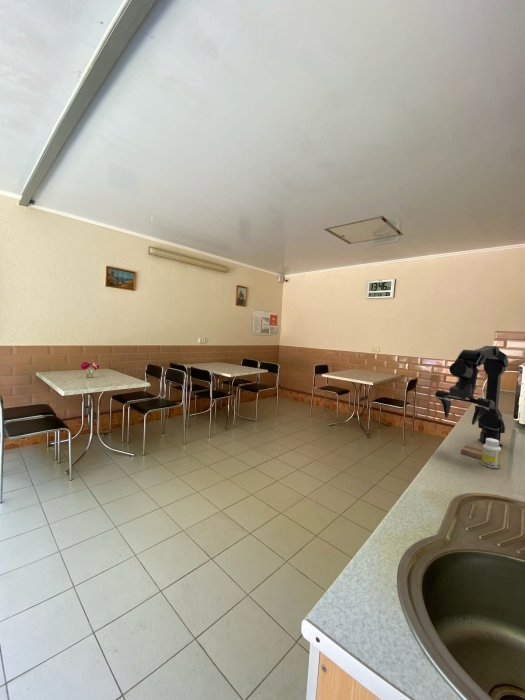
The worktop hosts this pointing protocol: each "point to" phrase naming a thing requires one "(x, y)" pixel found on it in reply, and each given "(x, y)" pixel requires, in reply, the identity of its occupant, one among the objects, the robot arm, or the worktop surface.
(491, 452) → the supplement bottle
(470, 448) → the dock
